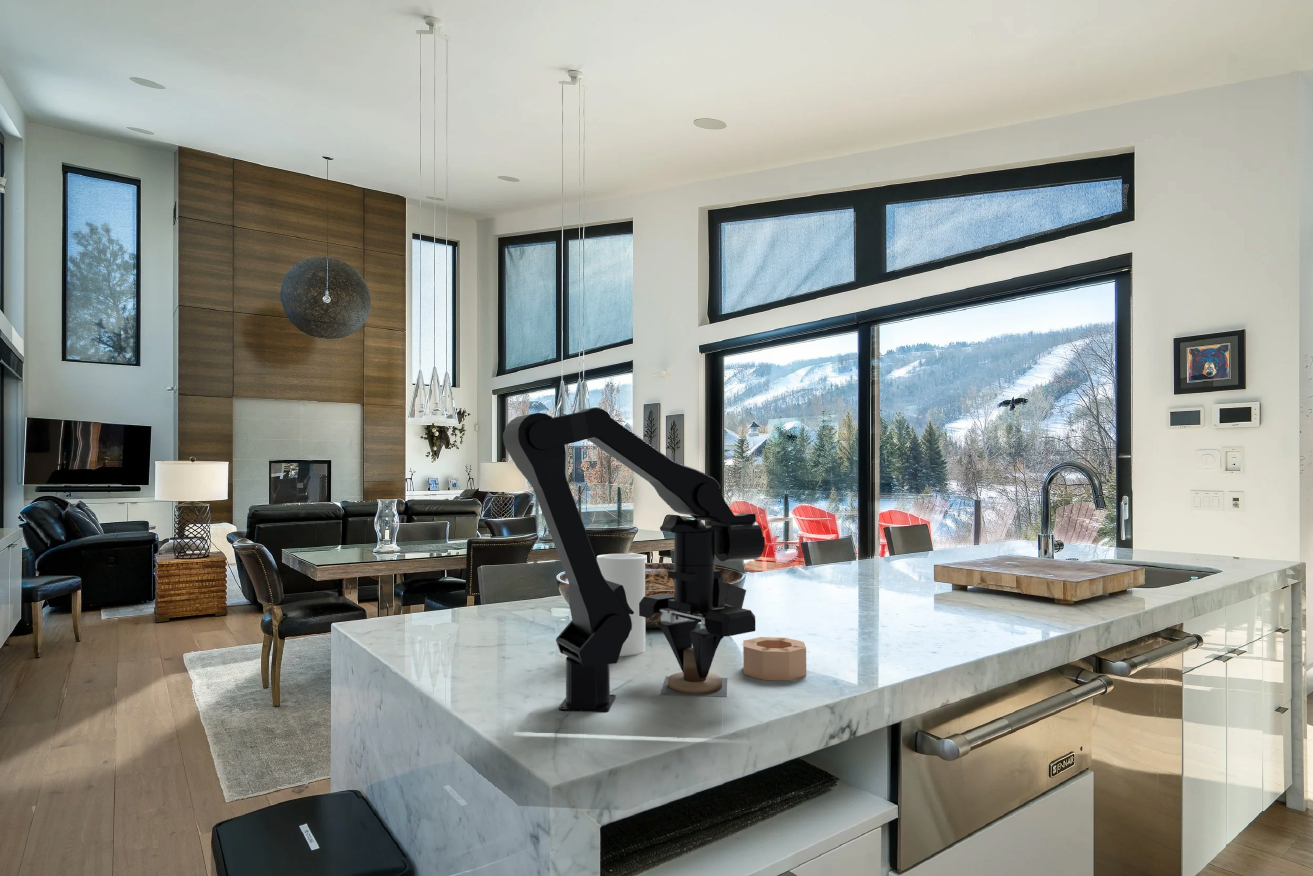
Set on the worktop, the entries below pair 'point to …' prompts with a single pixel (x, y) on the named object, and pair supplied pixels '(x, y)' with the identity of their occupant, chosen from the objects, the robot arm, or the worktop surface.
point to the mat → (719, 693)
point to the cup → (628, 593)
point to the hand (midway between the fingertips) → (694, 675)
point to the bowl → (774, 658)
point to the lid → (693, 678)
